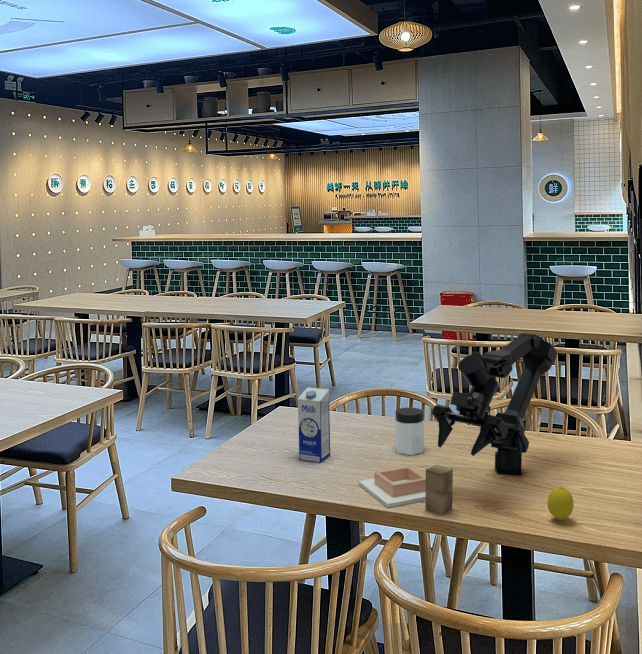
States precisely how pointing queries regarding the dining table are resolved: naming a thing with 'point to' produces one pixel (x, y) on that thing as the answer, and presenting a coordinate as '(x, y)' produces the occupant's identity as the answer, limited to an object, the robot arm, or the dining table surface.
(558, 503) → the lemon
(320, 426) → the milk carton
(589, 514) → the dining table surface
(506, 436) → the robot arm
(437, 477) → the walnut post
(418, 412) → the jar
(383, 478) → the terracotta holder
